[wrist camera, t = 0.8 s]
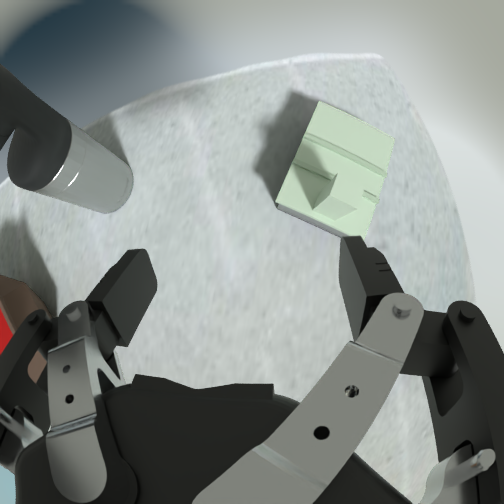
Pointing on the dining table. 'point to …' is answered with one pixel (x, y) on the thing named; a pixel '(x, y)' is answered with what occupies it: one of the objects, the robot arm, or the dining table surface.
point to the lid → (338, 171)
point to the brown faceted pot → (19, 316)
